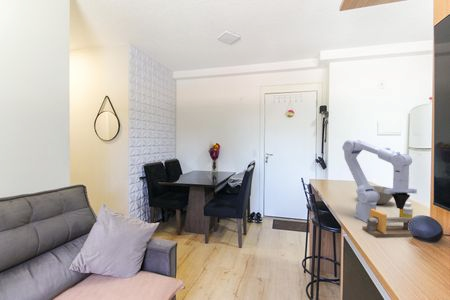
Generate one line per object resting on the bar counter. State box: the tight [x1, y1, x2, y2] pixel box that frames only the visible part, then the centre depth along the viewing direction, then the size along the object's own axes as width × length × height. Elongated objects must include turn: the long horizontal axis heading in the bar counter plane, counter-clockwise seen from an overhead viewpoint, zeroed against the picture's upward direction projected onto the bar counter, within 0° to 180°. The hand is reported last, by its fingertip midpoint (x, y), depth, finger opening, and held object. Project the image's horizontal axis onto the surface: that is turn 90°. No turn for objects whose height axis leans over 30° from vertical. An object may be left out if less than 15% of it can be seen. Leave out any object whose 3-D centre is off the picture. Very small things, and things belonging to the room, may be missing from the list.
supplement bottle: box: [398, 201, 414, 219], centre depth 119 cm, size 5×5×10 cm
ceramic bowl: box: [356, 185, 393, 205], centre depth 153 cm, size 22×23×10 cm
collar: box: [370, 209, 388, 233], centre depth 102 cm, size 8×2×8 cm, turn 4°
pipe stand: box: [361, 216, 413, 239], centre depth 103 cm, size 9×20×7 cm, turn 94°
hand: (399, 208), depth 106 cm, fingers closed
